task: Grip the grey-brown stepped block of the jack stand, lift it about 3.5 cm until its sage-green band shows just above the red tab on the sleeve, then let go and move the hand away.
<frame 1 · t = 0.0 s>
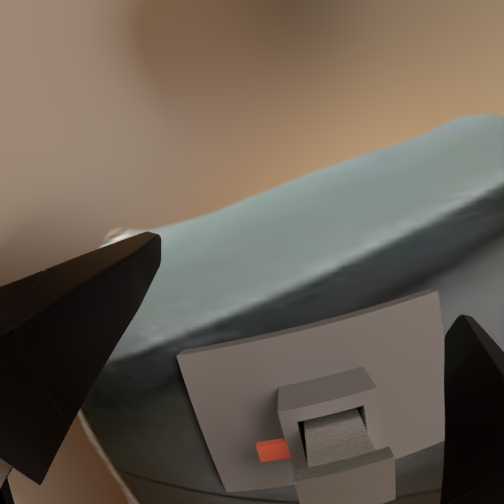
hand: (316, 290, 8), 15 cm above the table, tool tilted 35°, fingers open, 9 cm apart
grey-brown stepped block: (337, 446, 17), point 6 cm above the table, slide at 0.0 cm
jack stand base: (326, 404, 23), on the table
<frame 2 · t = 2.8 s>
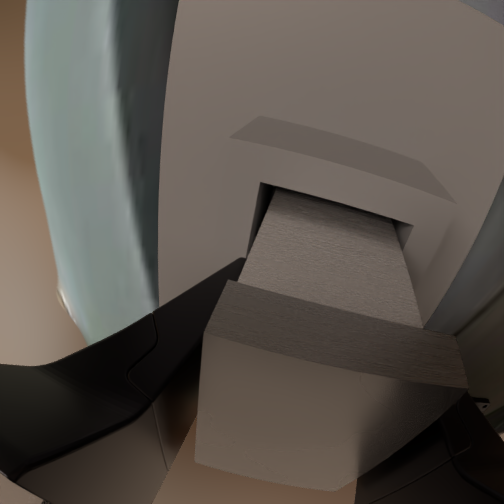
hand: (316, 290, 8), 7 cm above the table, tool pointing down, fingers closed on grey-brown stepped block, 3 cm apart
grey-brown stepped block: (316, 286, 9), point 6 cm above the table, slide at 0.0 cm, touching gripper
jack stand base: (323, 196, 14), on the table
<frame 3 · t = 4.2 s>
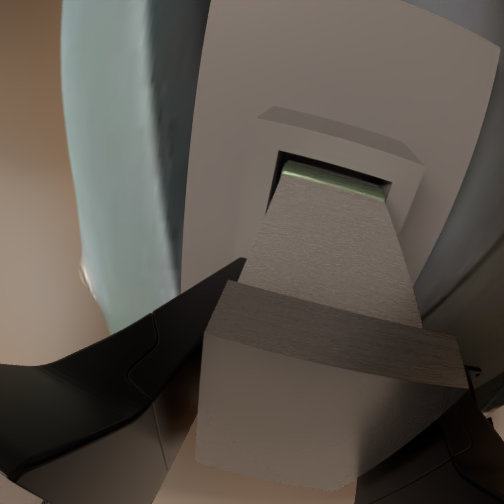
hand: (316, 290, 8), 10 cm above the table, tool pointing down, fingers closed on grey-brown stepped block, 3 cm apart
grey-brown stepped block: (316, 286, 9), point 10 cm above the table, slide at 3.4 cm, touching gripper
jack stand base: (324, 172, 17), on the table
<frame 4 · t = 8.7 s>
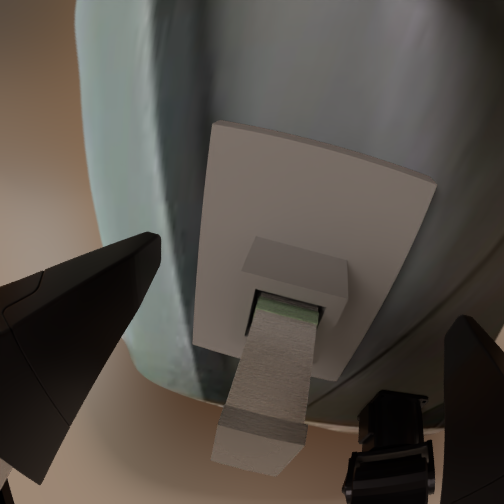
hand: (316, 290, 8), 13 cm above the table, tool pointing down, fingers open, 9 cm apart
grey-brown stepped block: (270, 378, 16), point 10 cm above the table, slide at 3.4 cm
jack stand base: (293, 272, 24), on the table
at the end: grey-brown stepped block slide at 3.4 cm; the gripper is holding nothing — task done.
